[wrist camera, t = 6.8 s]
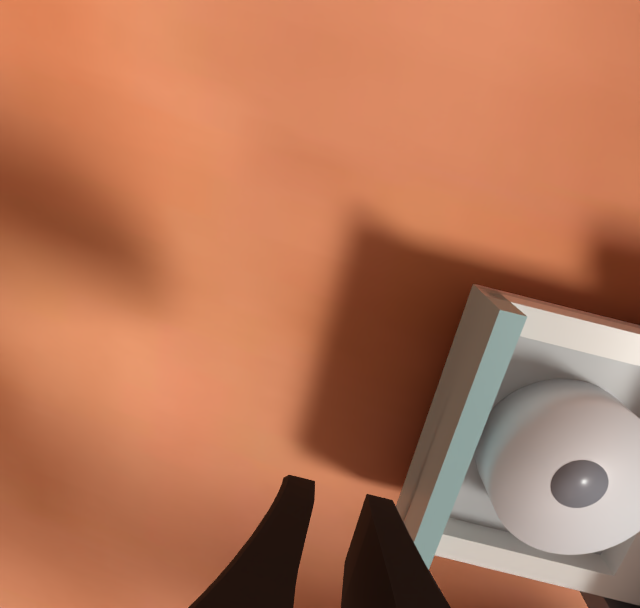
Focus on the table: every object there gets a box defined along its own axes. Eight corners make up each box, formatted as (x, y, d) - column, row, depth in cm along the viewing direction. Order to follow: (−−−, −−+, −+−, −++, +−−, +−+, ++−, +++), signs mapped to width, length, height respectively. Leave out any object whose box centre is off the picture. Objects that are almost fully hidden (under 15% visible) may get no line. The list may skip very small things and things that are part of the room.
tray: (678, 586, 19) (737, 661, 16) (392, 515, 19) (400, 579, 16) (807, 367, 17) (907, 411, 14) (473, 283, 16) (499, 310, 13)
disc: (450, 485, 18) (463, 524, 16) (517, 356, 16) (540, 382, 14) (585, 532, 18) (614, 575, 16) (664, 409, 17) (706, 441, 15)
